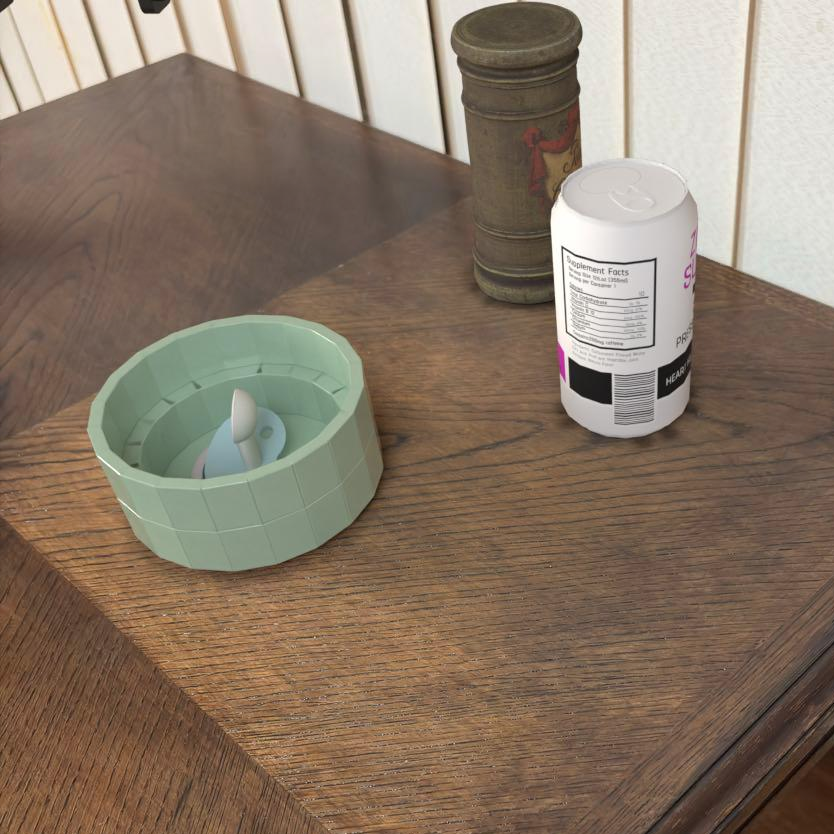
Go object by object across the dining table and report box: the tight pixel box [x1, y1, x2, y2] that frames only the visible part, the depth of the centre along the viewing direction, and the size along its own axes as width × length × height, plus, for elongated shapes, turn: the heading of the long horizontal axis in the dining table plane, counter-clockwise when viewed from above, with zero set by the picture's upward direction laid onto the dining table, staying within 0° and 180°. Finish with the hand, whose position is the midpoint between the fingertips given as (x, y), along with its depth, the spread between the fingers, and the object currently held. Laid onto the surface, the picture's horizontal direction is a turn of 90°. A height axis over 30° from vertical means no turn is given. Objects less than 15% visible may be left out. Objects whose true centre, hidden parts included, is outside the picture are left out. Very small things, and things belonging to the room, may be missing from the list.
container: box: [450, 1, 584, 305], centre depth 74 cm, size 9×9×18 cm
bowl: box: [86, 314, 384, 573], centre depth 63 cm, size 16×16×7 cm
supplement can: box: [551, 157, 699, 439], centre depth 64 cm, size 8×8×15 cm
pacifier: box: [191, 389, 286, 479], centre depth 64 cm, size 7×6×6 cm
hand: (77, 8), depth 54 cm, fingers open, 8 cm apart
